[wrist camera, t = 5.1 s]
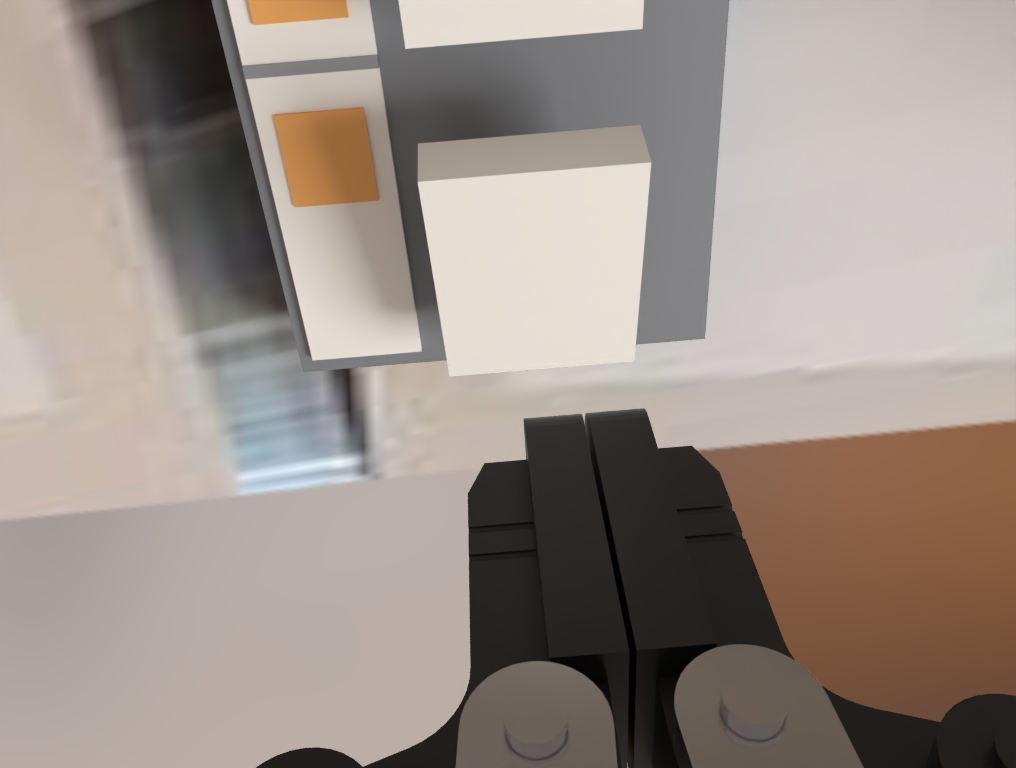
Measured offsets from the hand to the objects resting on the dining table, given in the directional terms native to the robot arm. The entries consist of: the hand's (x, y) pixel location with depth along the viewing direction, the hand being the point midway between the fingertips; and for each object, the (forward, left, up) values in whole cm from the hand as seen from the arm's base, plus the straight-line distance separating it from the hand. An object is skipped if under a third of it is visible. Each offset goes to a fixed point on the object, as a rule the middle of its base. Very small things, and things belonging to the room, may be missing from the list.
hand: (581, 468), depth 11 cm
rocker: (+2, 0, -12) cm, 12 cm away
